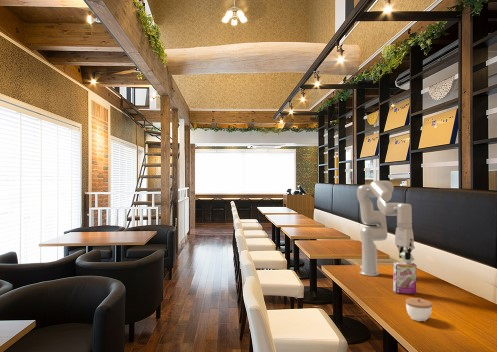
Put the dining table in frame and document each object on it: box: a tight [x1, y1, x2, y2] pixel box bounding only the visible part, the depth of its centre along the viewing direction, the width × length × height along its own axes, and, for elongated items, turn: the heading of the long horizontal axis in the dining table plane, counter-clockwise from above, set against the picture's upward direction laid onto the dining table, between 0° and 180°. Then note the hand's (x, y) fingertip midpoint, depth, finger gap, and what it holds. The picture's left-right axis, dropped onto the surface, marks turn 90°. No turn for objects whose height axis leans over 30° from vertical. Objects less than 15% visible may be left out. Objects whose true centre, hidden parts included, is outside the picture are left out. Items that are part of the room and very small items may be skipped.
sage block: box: [398, 249, 415, 264], centre depth 195 cm, size 4×4×6 cm
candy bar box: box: [392, 261, 417, 295], centre depth 195 cm, size 11×5×16 cm, turn 84°
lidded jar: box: [405, 297, 433, 322], centre depth 157 cm, size 11×11×9 cm
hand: (404, 258), depth 195 cm, fingers closed on sage block, 3 cm apart
